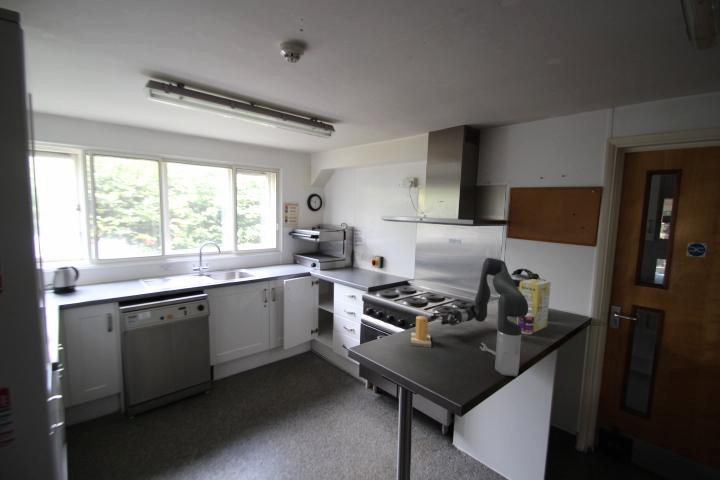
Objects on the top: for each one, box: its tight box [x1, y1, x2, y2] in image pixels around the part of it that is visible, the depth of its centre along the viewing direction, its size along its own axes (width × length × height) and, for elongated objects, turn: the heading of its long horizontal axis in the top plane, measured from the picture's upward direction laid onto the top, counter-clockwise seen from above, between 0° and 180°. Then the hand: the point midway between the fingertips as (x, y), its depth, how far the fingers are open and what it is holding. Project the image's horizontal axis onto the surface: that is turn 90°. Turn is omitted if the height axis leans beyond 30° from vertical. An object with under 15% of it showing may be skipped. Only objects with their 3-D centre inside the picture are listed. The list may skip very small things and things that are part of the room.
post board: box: [410, 332, 432, 348], centre depth 164 cm, size 14×10×8 cm
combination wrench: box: [479, 342, 496, 357], centre depth 148 cm, size 4×1×20 cm
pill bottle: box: [518, 308, 534, 335], centre depth 182 cm, size 8×8×14 cm
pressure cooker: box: [510, 268, 547, 290], centre depth 219 cm, size 30×28×32 cm
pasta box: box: [516, 279, 551, 333], centre depth 193 cm, size 18×10×28 cm, turn 129°
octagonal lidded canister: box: [414, 315, 429, 340], centre depth 164 cm, size 6×6×11 cm
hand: (436, 320), depth 169 cm, fingers open, 8 cm apart
